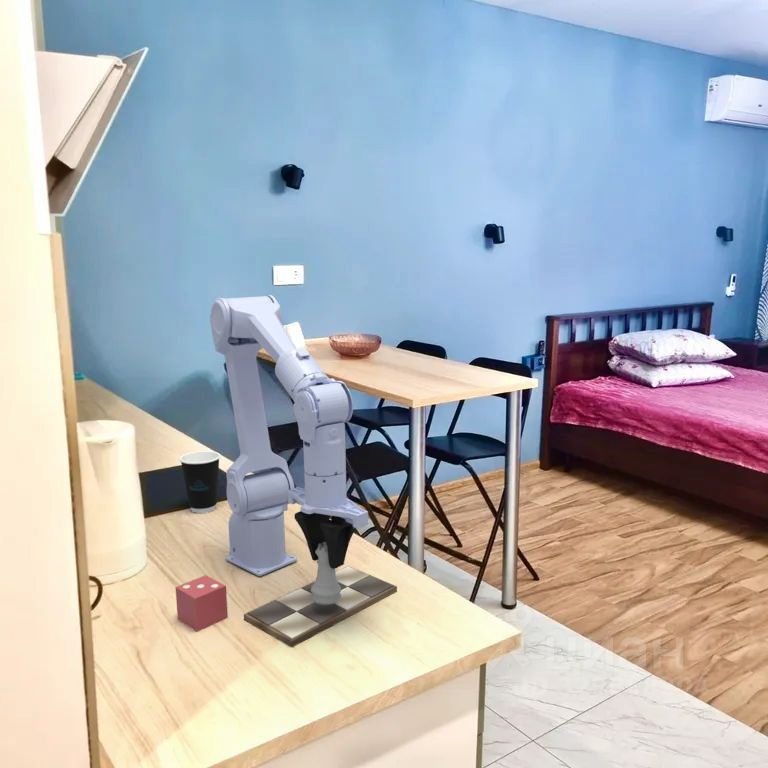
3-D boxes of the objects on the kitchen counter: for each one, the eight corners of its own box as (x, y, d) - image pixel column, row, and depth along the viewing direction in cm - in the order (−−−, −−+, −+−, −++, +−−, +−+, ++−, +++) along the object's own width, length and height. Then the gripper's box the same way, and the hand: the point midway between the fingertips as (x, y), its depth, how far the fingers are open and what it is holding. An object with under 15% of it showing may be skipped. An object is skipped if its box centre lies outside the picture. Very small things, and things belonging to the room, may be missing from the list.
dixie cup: (212, 499, 150) (209, 448, 147) (230, 509, 144) (227, 456, 141) (176, 508, 145) (172, 455, 143) (193, 519, 139) (189, 465, 137)
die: (177, 619, 102) (175, 586, 101) (207, 606, 106) (205, 574, 105) (197, 632, 99) (195, 598, 98) (227, 618, 102) (225, 585, 101)
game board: (243, 619, 102) (243, 612, 101) (348, 570, 116) (348, 564, 116) (291, 647, 94) (291, 640, 94) (397, 591, 109) (396, 585, 109)
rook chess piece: (322, 589, 105) (323, 537, 104) (347, 597, 103) (349, 544, 102) (303, 600, 101) (304, 546, 100) (329, 608, 99) (330, 553, 98)
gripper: (269, 466, 101) (273, 556, 103) (339, 489, 91) (342, 588, 94) (307, 455, 106) (310, 541, 108) (378, 475, 96) (379, 570, 99)
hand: (327, 562), depth 101 cm, fingers closed on rook chess piece, 3 cm apart
